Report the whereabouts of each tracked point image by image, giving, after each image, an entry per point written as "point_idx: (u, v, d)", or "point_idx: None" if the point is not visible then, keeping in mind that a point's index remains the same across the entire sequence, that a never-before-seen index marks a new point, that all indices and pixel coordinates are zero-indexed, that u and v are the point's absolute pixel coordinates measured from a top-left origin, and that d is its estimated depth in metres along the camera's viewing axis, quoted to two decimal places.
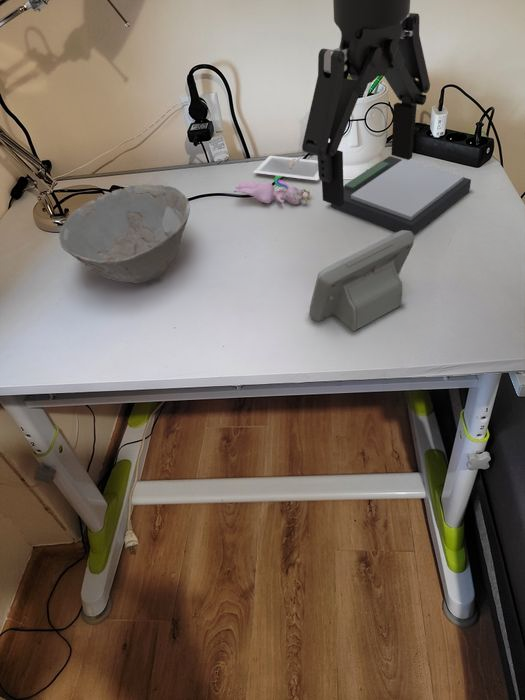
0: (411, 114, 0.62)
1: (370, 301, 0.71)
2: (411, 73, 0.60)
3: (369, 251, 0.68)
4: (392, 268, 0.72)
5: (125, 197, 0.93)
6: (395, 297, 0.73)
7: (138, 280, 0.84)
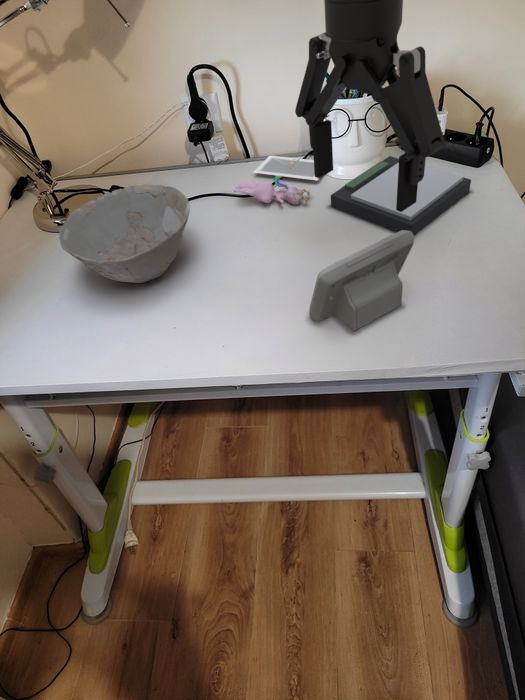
0: (330, 127, 0.64)
1: (370, 301, 0.71)
2: (313, 95, 0.61)
3: (369, 251, 0.68)
4: (392, 268, 0.72)
5: (125, 197, 0.93)
6: (395, 297, 0.73)
7: (138, 280, 0.84)
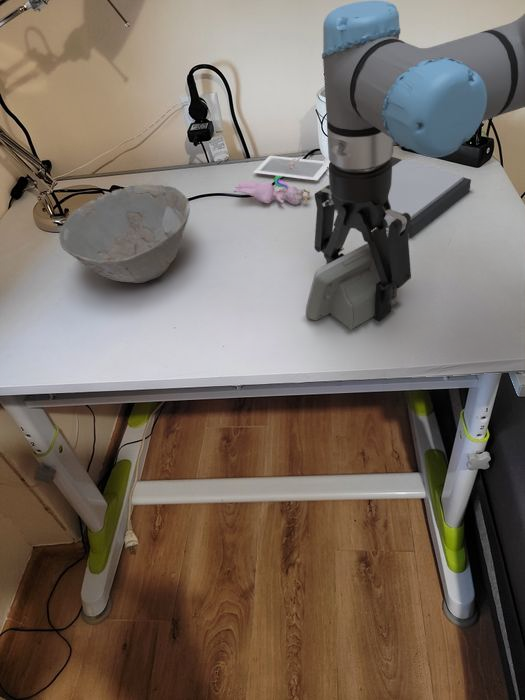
0: None
1: (367, 299, 0.71)
2: (327, 233, 0.73)
3: (365, 250, 0.68)
4: None
5: (125, 197, 0.93)
6: None
7: (138, 280, 0.84)
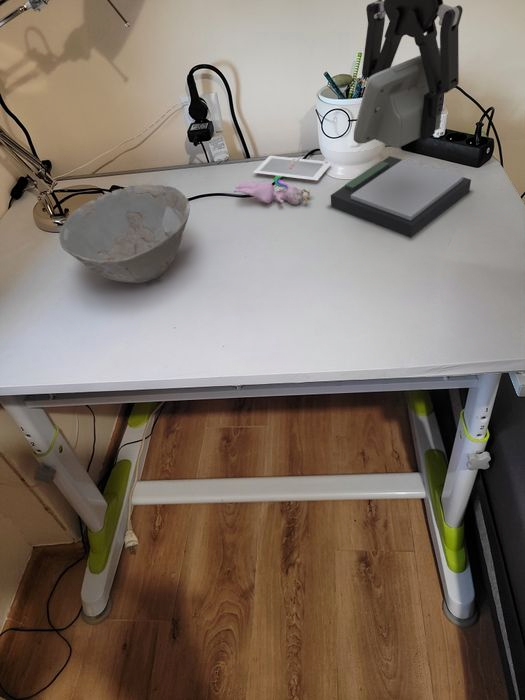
0: None
1: (414, 114, 0.75)
2: (375, 55, 0.76)
3: (414, 60, 0.72)
4: None
5: (125, 197, 0.93)
6: None
7: (138, 280, 0.84)
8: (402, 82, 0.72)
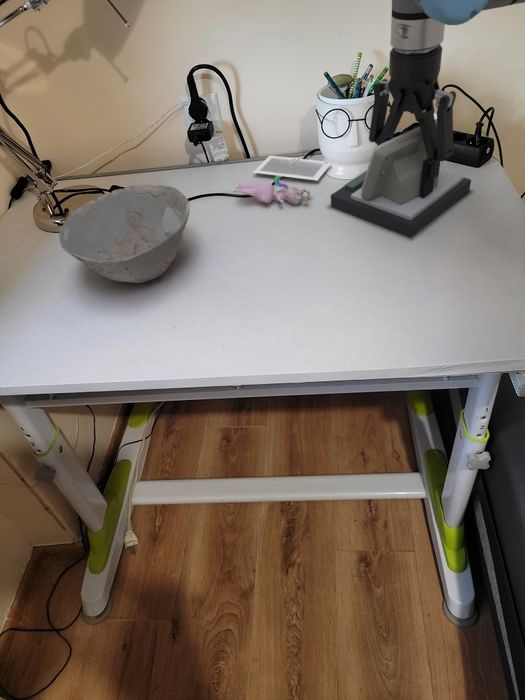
0: None
1: (414, 176, 0.86)
2: (380, 123, 0.87)
3: (414, 132, 0.83)
4: None
5: (125, 197, 0.93)
6: None
7: (138, 280, 0.84)
8: (404, 150, 0.83)
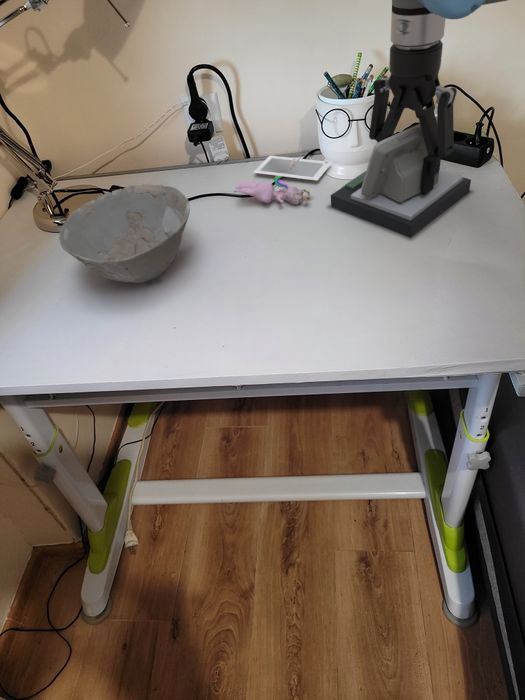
0: None
1: (415, 174, 0.85)
2: (381, 121, 0.87)
3: (415, 129, 0.83)
4: None
5: (125, 197, 0.93)
6: None
7: (138, 280, 0.84)
8: (404, 147, 0.83)
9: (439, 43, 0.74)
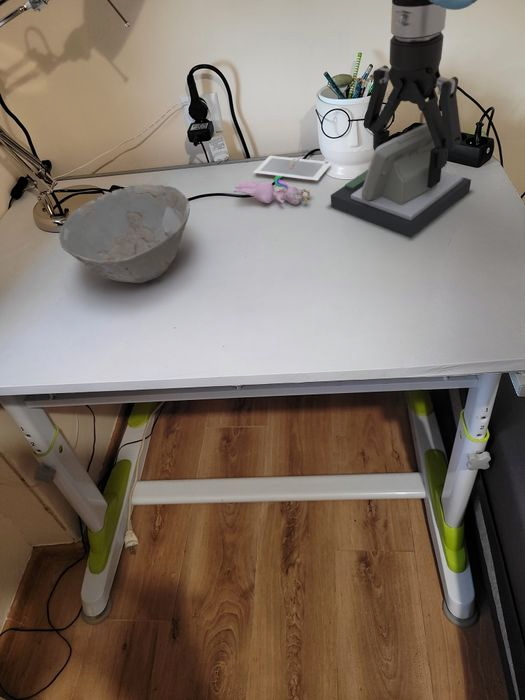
0: (388, 134, 0.89)
1: (415, 177, 0.86)
2: (376, 110, 0.86)
3: (414, 132, 0.83)
4: None
5: (125, 197, 0.93)
6: None
7: (138, 280, 0.84)
8: (404, 151, 0.83)
9: (440, 35, 0.73)
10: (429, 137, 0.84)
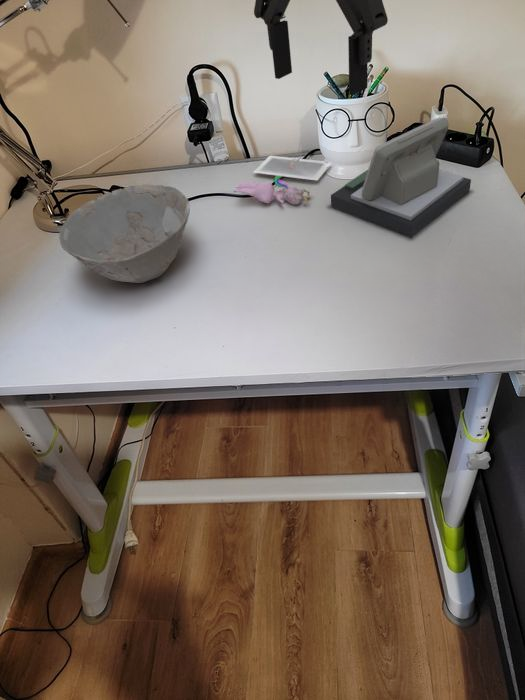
0: (287, 27, 0.69)
1: (415, 176, 0.86)
2: None
3: (414, 132, 0.83)
4: (431, 150, 0.87)
5: (125, 197, 0.93)
6: (433, 176, 0.88)
7: (138, 280, 0.84)
8: (404, 151, 0.83)
9: None
10: (429, 137, 0.84)
